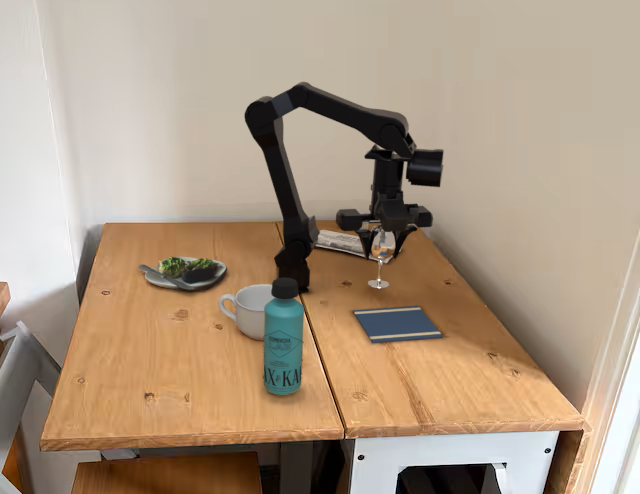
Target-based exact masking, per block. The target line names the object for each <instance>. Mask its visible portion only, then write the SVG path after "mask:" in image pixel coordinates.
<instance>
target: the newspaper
mask: <svg viewBox="0 0 640 494" xmlns="http://www.w3.org/2000/svg"><path fill="white" fill-rule="evenodd" d="M319 231H320V234H319V235H318V242H317V244H316V246H315V247H321V248H325V249H331V250H337V251H341V252H342V251H343V252H347V253H350V254H352V255H357V256H359V257H360V256H361V257H363V258H365V255H364V252H363V248H362V245H361V241H360V238H359V236H358V235H353V234H348V233H343V232H338V231H334V230H333V231H332V230H327V229H320V230H319ZM402 248H403V246H402V247H401V249H400V251H399V253H400V252H402ZM392 258H393V257H392V256H391V257H389V258H387V259H382V261H383V264H388V262H389V261H390V260H391V259H392ZM369 260H374V261H377V262H378V261H379V259H377V258H374V257H373V256H371V255H369Z"/></svg>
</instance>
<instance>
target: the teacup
mask: <svg viewBox="0 0 640 494" xmlns="http://www.w3.org/2000/svg"><path fill="white" fill-rule="evenodd" d="M271 290H272V284H270V283H269V284H268V283H259V284H257V283H256V284H251V285H247V286H244V287H242V288H241V289H239V290H237V292H236V293H235V295H234V294H231V293H223V294H222V295H221V296H220V297H219V298H218V303H217V305H218V309H219V311H220V312H221V313H222V314H223V315H224V316H226V317H227V318H229V319H231V320H232V321H233V323H235V324H237V327H238V329H239V331H241V332H242V333H243V334H244V335H246V336H247V337H249V338H250V339H253V340H256V341H264V339H263V336H264V318H265V312H264V307H265V305H266V304H267V303H268V302H269V301H271V300H272V299H274V298H275V297H273V296H272V295H271ZM227 300H228V301H230V302H231V303H232V305H233V307H234V309H235V313H234V312H232V311H231V310H229V309H227V307H226V306H225V304H224V302H225V301H227Z"/></svg>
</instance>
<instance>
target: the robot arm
mask: <svg viewBox="0 0 640 494" xmlns="http://www.w3.org/2000/svg"><path fill="white" fill-rule="evenodd" d="M299 108H302V109H306V110H307V111H310V112H312V113H314V114H317V115H320V116H322V117H324V118H327V119H329V120H331V121H335V122H337V123H340V124H342V125H344V126H347V127H349V128H352V129H354V130H356V131H357V132H359V133H361V135H363V136H364V137H365V138H366V139H368V140H369V141H370V142H372V143H373V146H372V147H371V148H370V149H368V151H366V152H365V155H364V156H363V157H364V160H365V159H366V160H373V162H374V163H373V173H372V174H373V175H372V184H370V191H371V199H370V200H371V201H370V204H368V205H369V206H368V211H369V213H360V212H359V211H358V210H357V209H356V208H344V209H343V208H342V209H340V208H339V209H338V211H337V212H336V214H335V224H336V225H337V226H338V228H339V229H340V230H341V231H342V232H354V233H355V234H356V235H357V236H359V238H360V241H361V245H362V248H363V252H364V255H365V257H364V258H365V261H369V260H370V258H369V255H370V235H371V229H369V227H370V225H369V224H380V225H382V229H383V230H384V231H385V232H391V231H395V233H396V249H395V252H394V254H393V255H392V258H393V259H394V260H396V259H397V257H398V254H399V253H400V252H401V251H400V249H401V250H402V248H403V244H404V243H405V241H406V239H407V238H408V236H409V235H411V234H412V233H413V232H417V231H418V229H419V228H432V227H433V223H434V222H433V221H434V215H433V213H432V212H431V211H430V210H429V209H428V208H427V207H425V206H424V205H419V204H418V203H405V200H404V191H403V190H402V189H403V180H404V179H403V178H404V169H405V163H406V169H405V180H407V182H408V183H410V186H417V187H418V186H419V187H432V188H441V184H442V179H443V172H444V163H443V162H444V154H445V150H444V149H442V148H436V149H427V148H418V145H417V143H415V140H414V139H413V137H412V135H411V134H410V132H409V130H410V127H409V121H408V119H407V117H406V116H405V115H404V114H402V113H400V112H398V111H392V110H387V109H382V108H371V107H366V106H363V105H361V104H359V103H356V102H353V101H350V100H348V99H345V98H343V97H341V96H339V95H336V94H333V93H331V92H328V91H326V90H323V89H321V88H318V87H317V86H314V85H312V84H310V82H307V81H300V82H298V83H297V84H295V85H293V86H292V87H290V88H289V89H287V90H285V91H282V92H281V93H279V94H277V95H275V96H274V97H272V96H270V95H264V96H261V97H259V98H258V99H256V100H254V101H252V102H250V103H249V105H247V107H246V108H245V111H244V116H243V117H244V122H245V124H246V126H247V128H248V130H249V133H250V135H251V136H252V139H253V141H255V142H256V144H257V145H258V146H259V147H260V149H261V151H262V154H263V157H264V161H265V164H266V166H267V170H268V173H269V177H270V180H271V183H272V186H273V189H274V193H275V197H276V201H277V203H278V206H279V210H280V213H281V216H282V222H283V223H282V238H283V245H282V247H280V249H279V251H278V252H277V253H276V254H275V255H274V257H273V260H274V263H275V266H276V272H275V273H276V277H275V279H278V278H292V279H294V280H296V281H297V283H298V294H305V293H306V294H307V293H309V292H310V290H309V288H308V287H310V281H311V280H310V279H311V268H310V267H309V265H308V261H307V258H309V257H310V255H311V254H312V252H313V251H314V250H315V247H317V246H316V244H317V242H318V235H319V234H320V231H321V230H319V229H318V226H317V219H316V216H315V215H311V216H308V214H307V213H306V212H305V211H304V208H303V205H302V201H301V198H300V194H299V192H298V188H297V185H296V184H297V183H296V180H295V177H294V173H293V172H292V167H291V164H290V161H289V158H288V153H287V150H286V146H285V144H284V143H285V142H284V118H283V117H284V116H286V115H288V114H289V113H291V112H293V111H295V110H296V109H299ZM401 247H402V248H401ZM399 251H400V252H399Z"/></svg>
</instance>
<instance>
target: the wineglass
mask: <svg viewBox="0 0 640 494" xmlns="http://www.w3.org/2000/svg"><path fill="white" fill-rule="evenodd" d="M370 231H371V235H370V255H371V256H373V257H374V258H377V259H379V261H377V267H378V272H377V278H376V279H375V278H374V279H370V280H368V282H367V285H368V286H369V287H371V288H375V289H384V288H388V287H389V286H390V283H389V282H388V281H386V280H385V279H381V271H382V267H383V264H384V262H383V261H382V259H387V258H389V257H391V256H392V255H393V254H394V252H395V249H396V233H395V231H391V232H385V231H384V230H383V229H382V225H381V224H375V225H372V227H371V229H370Z"/></svg>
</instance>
